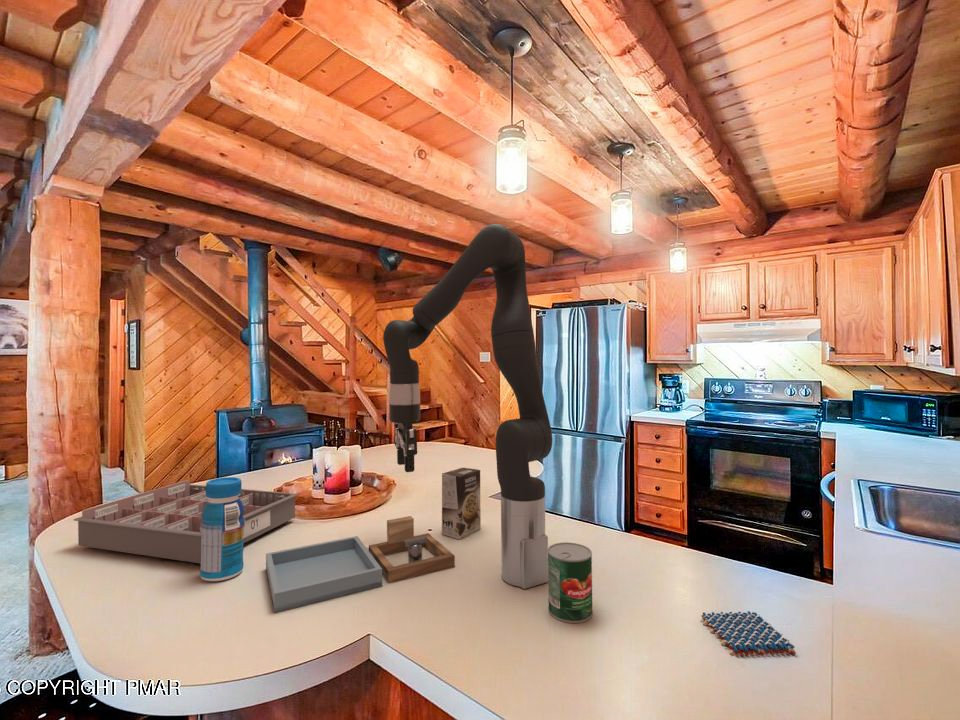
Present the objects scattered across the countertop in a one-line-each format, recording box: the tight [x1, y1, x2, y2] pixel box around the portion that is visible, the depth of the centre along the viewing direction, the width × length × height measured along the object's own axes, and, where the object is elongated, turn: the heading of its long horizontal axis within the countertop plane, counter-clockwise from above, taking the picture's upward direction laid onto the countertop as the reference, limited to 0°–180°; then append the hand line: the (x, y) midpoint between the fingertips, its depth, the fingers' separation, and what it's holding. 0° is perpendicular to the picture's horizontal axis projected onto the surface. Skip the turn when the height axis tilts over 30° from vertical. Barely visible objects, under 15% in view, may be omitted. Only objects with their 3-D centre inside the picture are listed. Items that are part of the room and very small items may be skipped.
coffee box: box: [441, 467, 482, 540], centre depth 123 cm, size 9×6×16 cm
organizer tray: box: [73, 479, 299, 564], centre depth 122 cm, size 32×40×10 cm
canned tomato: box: [547, 541, 594, 624], centre depth 84 cm, size 8×8×11 cm
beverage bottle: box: [199, 476, 245, 582], centre depth 100 cm, size 8×8×20 cm
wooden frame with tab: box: [368, 515, 456, 584], centre depth 105 cm, size 15×15×8 cm
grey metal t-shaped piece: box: [403, 536, 427, 563], centre depth 103 cm, size 3×5×6 cm, turn 119°
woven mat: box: [699, 610, 796, 657], centre depth 76 cm, size 10×11×2 cm
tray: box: [265, 535, 383, 614], centre depth 98 cm, size 20×20×4 cm
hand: (405, 467), depth 114 cm, fingers open, 8 cm apart
